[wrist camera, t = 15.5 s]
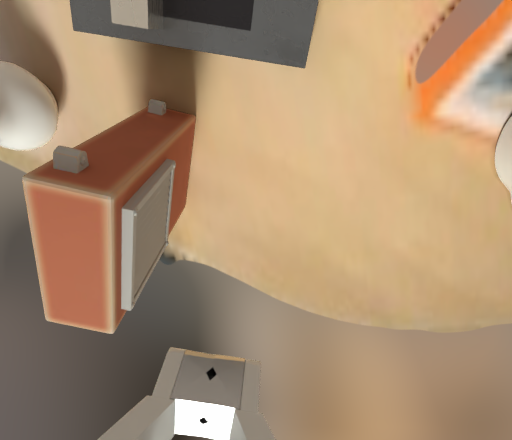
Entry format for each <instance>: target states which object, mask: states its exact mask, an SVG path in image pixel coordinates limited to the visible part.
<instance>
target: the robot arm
mask: <svg viewBox="0 0 512 440" xmlns="http://www.w3.org/2000/svg"><path fill="white" fill-rule="evenodd" d="M495 167H496V171H497V174H498V176H499V178H500V180H501V181H502V183H503V184H504V185H505V186H506V187H507V189H508V190H509V192H510V194H511V203H512V116H511V117H510V119H509V120H508V122H507V123H506V125H505V127H504V128H503V130H502V132H501V135H500V137H499V140H498V143H497V146H496V151H495ZM260 375H261V362H260V361H256V360H248V359H244V358H238V357H231V356H223V355H213V354H208V353H202V352H196V351H190V350H185V349H179V348H172V347H171V348H170V349H169V351H168V352H167V355H166V358H165V361H164V364H163V366H162V369H161V372H160V375H159V377H158V380H157V383H156V386H155V388H154V391H153V394H152V396H146V397H145V398H144V399H143V400H141V401H140V402H139V403H138V404H137V405H136V406H135V407H134V408H132V409H131V410H130V411H129V412H128V413H127V414H126V415H125V416H123V417H122V418H121V419H120V420H119V421H118V422H117V423H116V424H114V425H113V426H112V427H111V428H110V429H109V430H108V431H107V432H105V433H104V434H103V435H102V436H101V437H100V438H99V439H98V440H171V439H172V437H173V436H174V433H176V434H184V435H193V436H202V437H206V438H212V439H217V440H276V439H275V437H274V435H273V433H272V431H271V429H270V427H269V425H268V423H267V421H266V419H265V417H264V415H263V413H258V407H259V390H260Z"/></svg>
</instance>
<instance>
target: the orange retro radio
mask: <svg viewBox="0 0 512 440" xmlns="http://www.w3.org/2000/svg"><path fill="white" fill-rule="evenodd" d="M195 120H196V117H195V116H194V115H191V114H187V113H183V112H179V111H174V110H170V109H166V103H165V102H162V101H158V100H154V99H150V101H149V105H148V107H147V108H145V109H143V110H141V111H139V112H138V113H136V114H134V115H132V116H130V117H129V118H127V119H125V120H123V121H121V122H120V123H118V124H116V125H114V126H112V127H111V128H109V129H107V130H105V131H103V132H101V133H100V134H98V135H96V136H94V137H92V138H91V139H89V140H87V141H85V142H83V143H82V144H80V145H78V146H76V147H74V148H69V147H65V146H58V147H57V148H56V149H55V150H54V152H53V160H51V161H49V162H47V163H46V164H44V165H42V166H40V167H38V168H36V169H35V170H33V171H31V172H29V173H27V174H26V175H24V176H23V178H22V181H23V187H24V193H25V199H26V205H27V211H28V217H29V223H30V229H31V235H32V241H33V247H34V253H35V259H36V265H37V270H38V277H39V283H40V289H41V295H42V300H43V306H44V312H45V318H46V320H48V321H51V322H56V323H61V324H66V325H70V326H75V327H80V328H85V329H90V330H95V331H99V332H104V333H110V334H113V333H114V332H115V330H116V328H117V327H118V325H119V323H120V321H121V319H122V317H123V316H124V314H125V312H126V311H127V310H129V311H131V310H132V308H133V307H134V306H135V302H136V301H137V299H138V297H139V295H140V293H141V291H142V289H143V288H144V286H145V284H146V282H147V280H148V279H149V277H150V275H151V273H152V271H153V269H154V268H155V266H156V264H157V262H158V260H159V259H160V257H161V255H162V253H163V251H164V249H165V248H166V246H167V245H168V236H169V234H170V232H171V231H172V229H173V227H174V225H175V224H176V222H177V220H178V218H179V217H180V215H181V213H182V211H183V209H184V208H185V203H186V195H187V186H188V178H189V170H190V162H191V153H192V145H193V137H194V129H195Z"/></svg>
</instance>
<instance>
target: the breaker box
mask: <svg viewBox="0 0 512 440" xmlns="http://www.w3.org/2000/svg"><path fill="white" fill-rule="evenodd" d="M317 6H318V0H70V7H71V15H72V22H73V30H74V31H80V32H86V33H92V34H98V35H104V36H110V37H116V38H122V39H129V40H135V41H141V42H147V43H153V44H159V45H165V46H171V47H177V48H183V49H190V50H196V51H202V52H208V53H214V54H220V55H226V56H232V57H238V58H244V59H251V60H257V61H263V62H269V63H275V64H281V65H287V66H293V67H299V68H305V66H306V61H307V56H308V51H309V46H310V41H311V36H312V31H313V26H314V21H315V16H316V11H317Z"/></svg>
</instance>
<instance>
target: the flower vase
mask: <svg viewBox="0 0 512 440" xmlns="http://www.w3.org/2000/svg"><path fill="white" fill-rule="evenodd" d="M57 124H58V108H57V103H56V100H55V97H54V96H53V94H52V92H51V91H50V90H49V88H48V87H47V86H46V85H45V84H44V83H42V82H41V81H40V80H39V79H38V78H37V77H35V76H34V75H33V74H31V73H30V72H29V71H27V70H26V69H24V68H22V67H20V66H18V65H15V64H13V63H10V62H5V61H0V146H1V147H3V148H7V149H12V150H17V151H25V150H35V149H37V148H40V147H42V146H45V145H46V144H47V143H48V142H49V141H50V140H51V139H52V138H53V136H54V134H55V132H56V130H57Z"/></svg>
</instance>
